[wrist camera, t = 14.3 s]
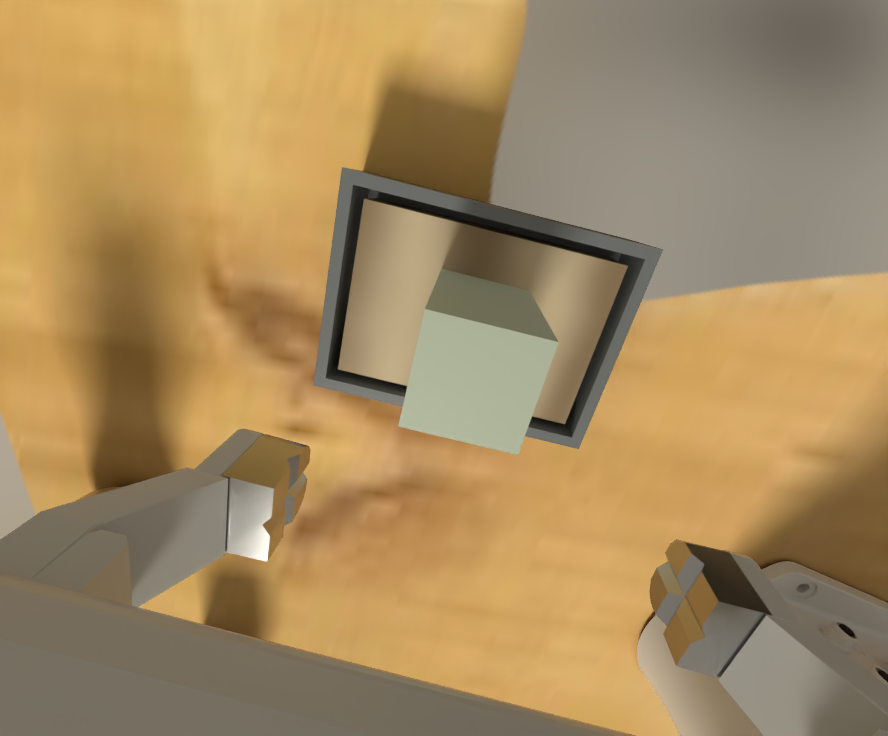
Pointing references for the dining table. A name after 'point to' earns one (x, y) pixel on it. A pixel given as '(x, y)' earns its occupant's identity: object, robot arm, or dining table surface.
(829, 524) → the dining table surface
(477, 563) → the dining table surface
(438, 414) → the sage carton
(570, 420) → the tote
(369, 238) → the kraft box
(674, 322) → the dining table surface
